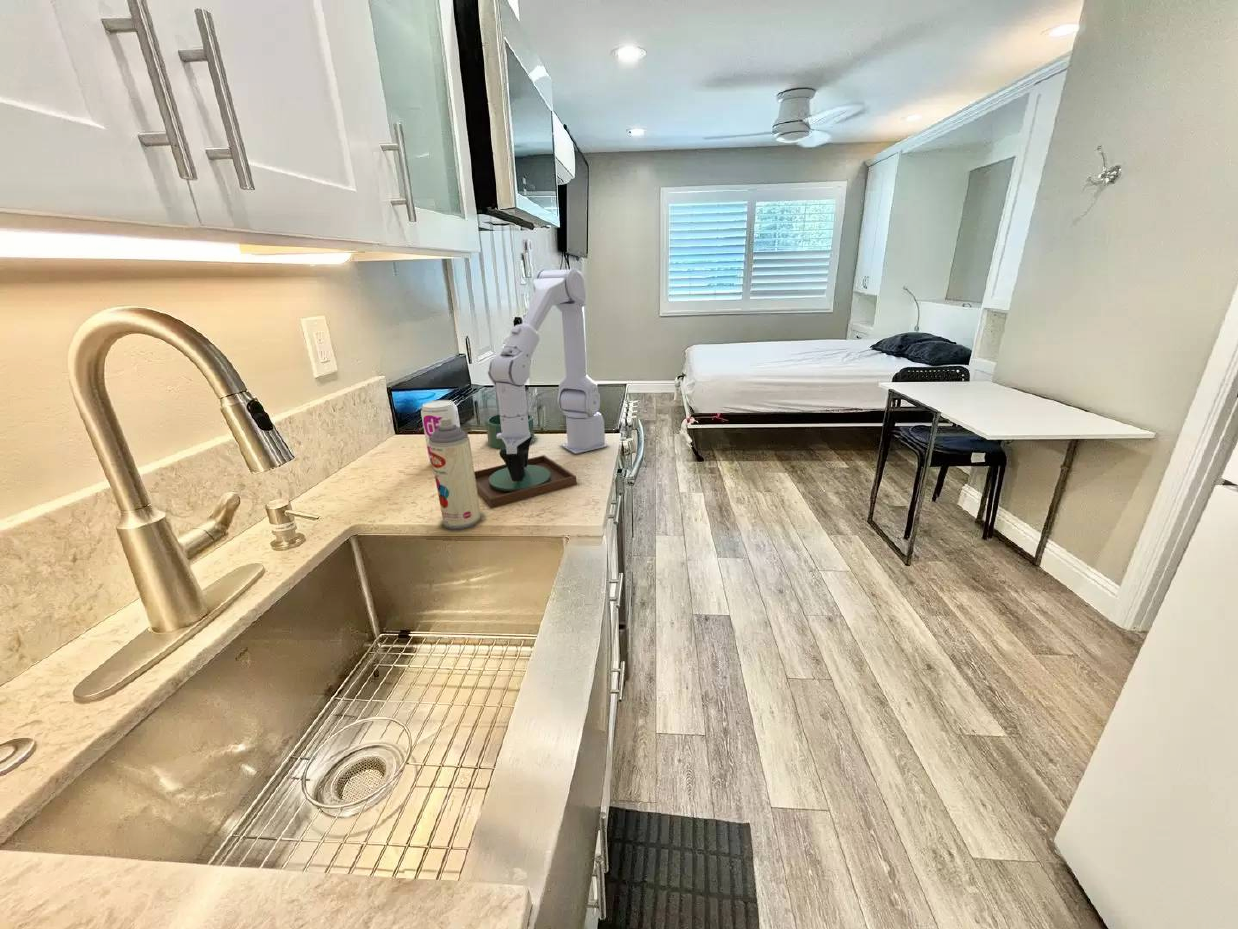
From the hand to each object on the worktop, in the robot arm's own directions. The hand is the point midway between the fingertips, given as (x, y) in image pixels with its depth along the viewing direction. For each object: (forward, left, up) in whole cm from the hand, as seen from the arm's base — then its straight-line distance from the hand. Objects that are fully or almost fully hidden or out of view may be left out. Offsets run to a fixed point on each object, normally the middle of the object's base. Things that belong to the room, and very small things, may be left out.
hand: (520, 473), depth 108 cm
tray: (0, 0, -2) cm, 2 cm away
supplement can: (+10, -22, -2) cm, 24 cm away
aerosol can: (+16, +10, -2) cm, 19 cm away
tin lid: (0, 0, -1) cm, 1 cm away
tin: (-9, -28, -2) cm, 29 cm away
